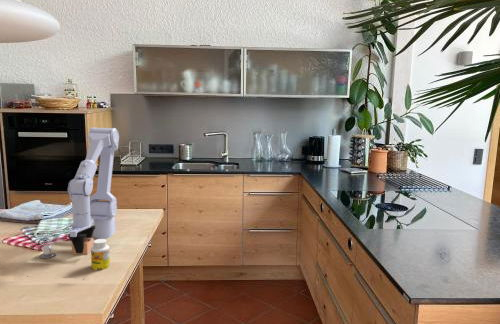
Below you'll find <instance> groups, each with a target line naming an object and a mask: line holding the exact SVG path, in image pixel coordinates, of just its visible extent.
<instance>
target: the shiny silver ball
mask: <svg viewBox="0 0 500 324" xmlns="http://www.w3.org/2000/svg"><path fill="white" fill-rule="evenodd" d="M42 251H43V254H41V255H40V256H39V258H41V259H49V258H53V257H55V256H56V253H55V252H52V244H45V245H43V246H42Z"/></svg>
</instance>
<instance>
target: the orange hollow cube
mask: <svg viewBox="0 0 500 324" xmlns="http://www.w3.org/2000/svg"><path fill="white" fill-rule="evenodd" d="M94 240H95V238H94V237H92V238H85V240H84V248H83V253H76V251H75V248H74V245H73V243H72V254H85V255H89V254H91V248H92V247H93V241H94Z"/></svg>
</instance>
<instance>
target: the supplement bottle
mask: <svg viewBox="0 0 500 324" xmlns="http://www.w3.org/2000/svg"><path fill="white" fill-rule="evenodd" d="M107 242H108V241H107V238H105V239H94V241H93V247H92V248H91V252H90V257H91V261H90V262H91V263H90V264H91V270H94V271H103V270H107V269H109V268H110V266H111V260H110V257H111V256H110V255H111V254H110V246H109V245H108V244H107Z"/></svg>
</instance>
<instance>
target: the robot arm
mask: <svg viewBox="0 0 500 324" xmlns="http://www.w3.org/2000/svg"><path fill="white" fill-rule="evenodd" d="M119 140H120V134H119V130H117V128H115V127H111V128H109V127H94V126H93V127H91V128H90V129H89V130H88V142H89V146H88V149H87V153H86V157H85V159H84V160H82V161H81V162H80V164H79V167H78V168H77V171H76V174H75V176H74V178H72V179H70V181H69V182H68V186H67V192H68V194H69V200H70V201H71V209H72V223H70V225H69V227H70V229H71V230H70V231H69V234H68V237H67V238H68V239H70V240H69V241H72V243H73V245H74V248H75V251H76V253H83V248H84V240H85V238H94V239H95V240H97V239H108V238H112V237H113V236H114V234H115V233H116V232H117V231H116V218H115V216H116V214H117V211H118V205H117V204H118V203H117V201H118V200H117V198H116V197H115V196H114V195H113V194H112V193H111V187H112V177H113V168H114V167H113V166H114V157H115V152H116V151H118V149H119ZM98 158H99V165H98V166H97V164H96V162H97V160H98ZM97 169H98V176H97V183H96V185H97V187H96V192H95V193H94V194H92V193H93V188H94V187H93V186H94V180H93V179H94V177H95V174H96V171H97ZM91 194H92V195H91Z"/></svg>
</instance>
